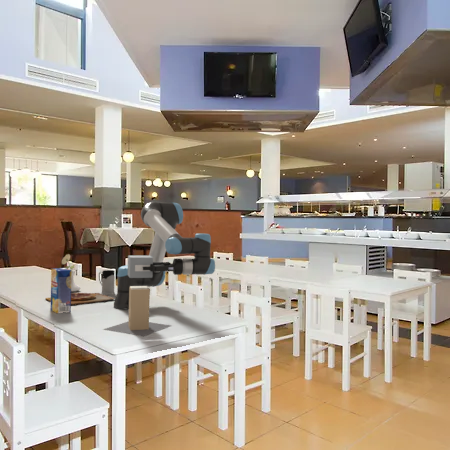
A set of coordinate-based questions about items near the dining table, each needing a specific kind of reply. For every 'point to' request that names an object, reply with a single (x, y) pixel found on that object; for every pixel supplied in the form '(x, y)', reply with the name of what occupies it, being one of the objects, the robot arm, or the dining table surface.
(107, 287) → the grey metal pitcher
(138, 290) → the carton base
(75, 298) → the pizza
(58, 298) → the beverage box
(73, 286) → the flower in vase
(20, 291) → the dining table surface
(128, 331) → the charcoal mat
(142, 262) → the grey matte cube
